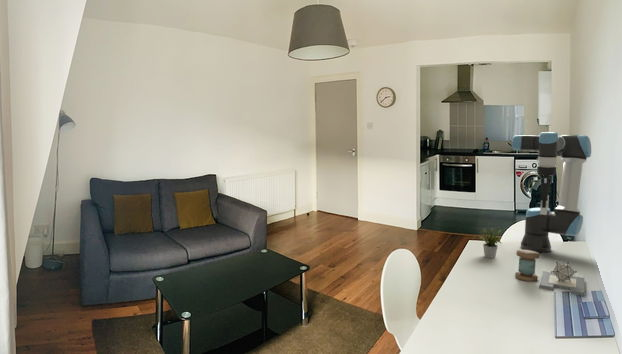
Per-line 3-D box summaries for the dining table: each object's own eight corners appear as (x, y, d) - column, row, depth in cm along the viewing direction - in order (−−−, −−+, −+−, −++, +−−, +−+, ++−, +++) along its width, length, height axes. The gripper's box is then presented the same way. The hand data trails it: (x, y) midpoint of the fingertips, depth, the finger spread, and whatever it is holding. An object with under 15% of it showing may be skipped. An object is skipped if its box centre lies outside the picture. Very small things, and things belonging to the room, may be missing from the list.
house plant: (471, 258, 215) (472, 227, 213) (474, 251, 228) (475, 222, 226) (501, 262, 209) (502, 230, 207) (502, 254, 221) (504, 225, 219)
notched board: (543, 274, 192) (543, 270, 192) (584, 281, 183) (584, 277, 183) (539, 288, 175) (539, 284, 175) (584, 296, 166) (584, 292, 166)
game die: (566, 290, 178) (575, 277, 171) (545, 280, 182) (554, 267, 175) (572, 276, 182) (581, 263, 176) (552, 266, 187) (560, 253, 180)
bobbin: (516, 273, 193) (518, 248, 192) (538, 277, 188) (540, 251, 187) (513, 279, 186) (515, 253, 184) (536, 283, 181) (538, 256, 179)
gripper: (539, 163, 201) (536, 205, 204) (535, 168, 180) (533, 216, 183) (557, 163, 197) (554, 207, 200) (555, 169, 176) (552, 218, 179)
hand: (544, 211), depth 191 cm, fingers open, 13 cm apart
